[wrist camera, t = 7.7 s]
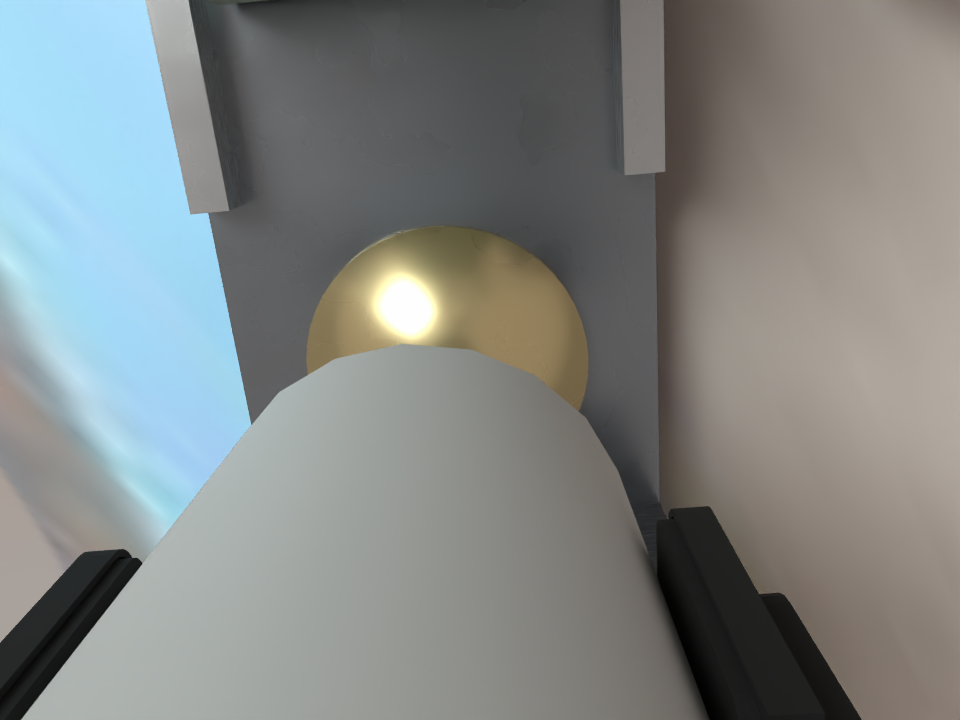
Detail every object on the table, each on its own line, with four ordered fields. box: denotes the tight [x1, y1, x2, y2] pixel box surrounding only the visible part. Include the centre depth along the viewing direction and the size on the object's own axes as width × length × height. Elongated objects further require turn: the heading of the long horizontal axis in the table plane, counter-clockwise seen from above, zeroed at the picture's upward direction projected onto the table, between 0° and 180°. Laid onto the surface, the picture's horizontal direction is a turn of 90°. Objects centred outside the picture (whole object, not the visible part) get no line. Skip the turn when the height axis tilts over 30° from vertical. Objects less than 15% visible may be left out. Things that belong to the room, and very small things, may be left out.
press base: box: [145, 0, 666, 575], centre depth 17 cm, size 12×26×10 cm, turn 5°
